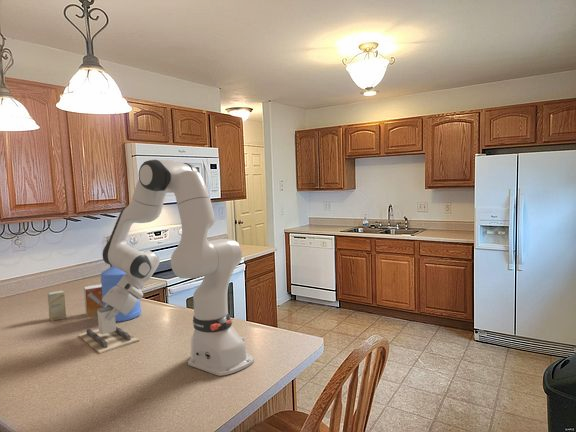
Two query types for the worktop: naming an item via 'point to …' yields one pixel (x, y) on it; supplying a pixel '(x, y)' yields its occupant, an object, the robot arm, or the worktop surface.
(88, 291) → the small box
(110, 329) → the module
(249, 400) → the worktop surface
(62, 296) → the skincare box
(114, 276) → the water jug
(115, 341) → the rail board
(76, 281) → the worktop surface
